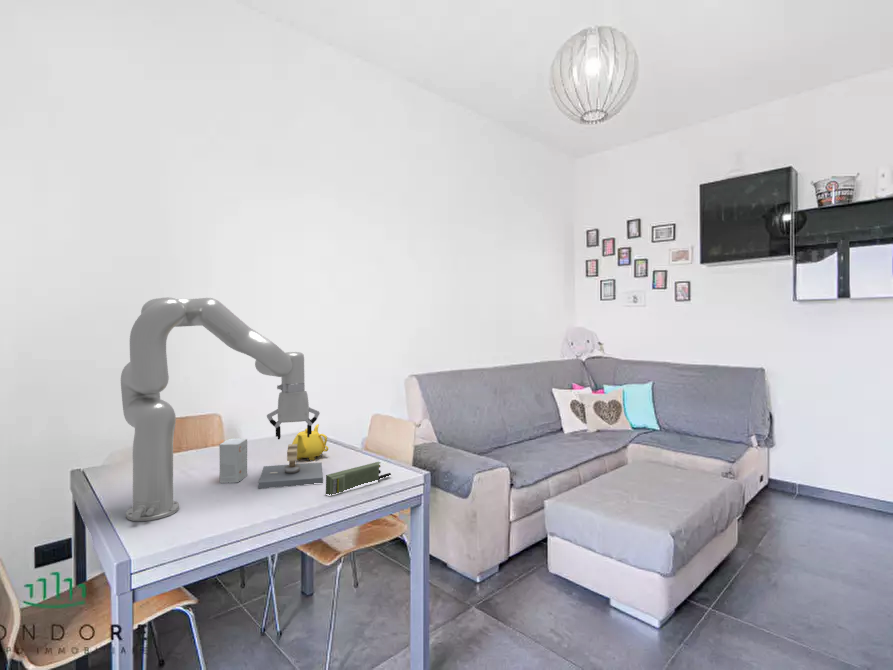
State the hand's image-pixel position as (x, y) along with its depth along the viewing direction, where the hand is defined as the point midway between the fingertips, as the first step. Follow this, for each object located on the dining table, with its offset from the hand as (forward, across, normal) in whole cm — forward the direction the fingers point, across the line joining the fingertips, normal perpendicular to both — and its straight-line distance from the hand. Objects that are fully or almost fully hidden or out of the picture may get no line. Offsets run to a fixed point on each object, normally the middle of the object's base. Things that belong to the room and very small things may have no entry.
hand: (293, 437), depth 162 cm
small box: (+14, -20, +2) cm, 24 cm away
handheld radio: (+14, +21, -15) cm, 30 cm away
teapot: (+14, +5, +24) cm, 28 cm away
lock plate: (+14, -1, 0) cm, 14 cm away
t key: (+12, -1, 0) cm, 12 cm away
